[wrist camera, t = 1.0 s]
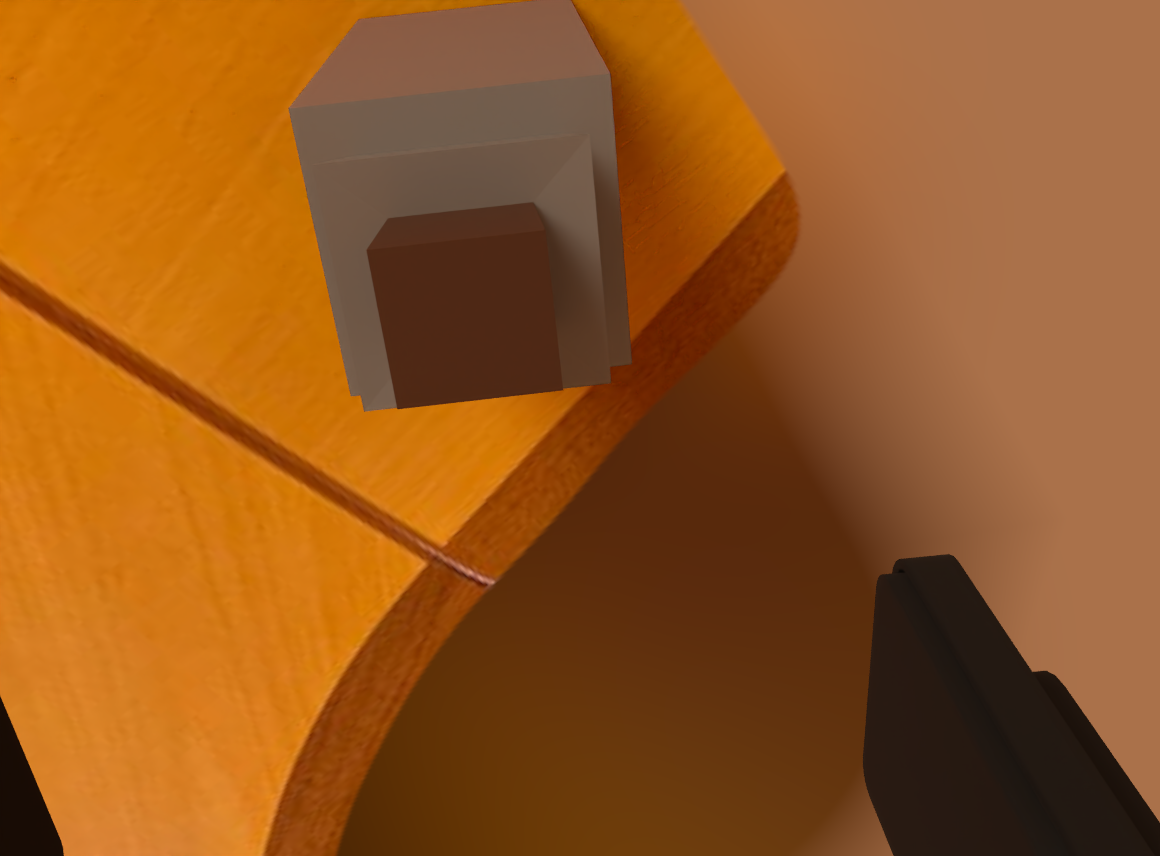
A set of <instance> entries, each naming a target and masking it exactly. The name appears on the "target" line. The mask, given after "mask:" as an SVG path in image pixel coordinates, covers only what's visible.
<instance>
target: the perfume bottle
mask: <svg viewBox="0 0 1160 856" xmlns="http://www.w3.org/2000/svg"><path fill="white" fill-rule="evenodd" d="M289 113H290V117H291V122H292V127H293V131H294V136H295V140H296V145H297V150H298V154H299V159H300V164H301V168H302V173H303V177H304V182H305V187H306V191H307V196H308V200H309V205H310V210H311V214H312V219H313V223H314V228H315V233H316V237H317V242H318V246H319V251H320V256H321V260H322V265H323V270H324V274H325V279H326V283H327V288H328V293H329V297H330V302H331V306H332V311H333V316H334V320H335V325H336V329H337V334H338V339H339V343H340V348H341V353H342V357H343V362H344V366H345V371H346V376H347V380H348V385H349V389H350V394H351V396H358V395H361V399H362V403H363V408H364V411H372V410H381V409H390V408H397V409H403V408H412V407H421V406H430V405H438V404H447V403H456V402H464V401H473V400H482V399H491V398H499V397H508V396H517V395H526V394H534V393H543V392H552V391H560V390H563V389H564V388H573V387H582V386H590V385H599V384H608V383H611V375H610V367H612V366H621V365H629V364H632V357H631V344H630V331H629V317H628V304H627V291H626V277H625V264H624V251H623V237H622V224H621V210H620V197H619V184H618V170H617V157H616V144H615V130H614V117H613V103H612V90H611V77H610V72H609V70H608V68H607V67H606V65H605V63H604V61H603V59H602V57H601V56H600V54H599V52H598V50H597V48H596V46H595V44H594V43H593V41H592V39H591V37H590V35H589V33H588V31H587V30H586V28H585V26H584V24H583V22H582V20H581V18H580V17H579V15H578V13H577V11H576V9H575V7H574V5H573V4H572V2H571V0H535V1H526V2H517V3H507V4H498V5H489V6H479V7H470V8H460V9H451V10H442V11H432V12H423V13H414V14H404V15H395V16H386V17H376V18H367V19H359V20H358V21H357V22H356V23H355V25H354V26H353V27H352V28H351V30H350V31H349V32H348V34H347V35H346V36H345V37H344V39H343V40H342V41H341V42H340V44H339V45H338V46H337V48H336V49H335V50H334V51H333V53H332V54H331V55H330V56H329V58H328V59H327V60H326V62H325V63H324V64H323V65H322V67H321V68H320V69H319V70H318V72H317V73H316V74H315V75H314V77H313V78H312V79H311V81H310V82H309V83H308V84H307V86H306V87H305V88H304V89H303V91H302V92H301V93H300V95H299V96H298V97H297V98H296V100H295V101H294V102H293V103H292V105H291V106H290V107H289Z"/></svg>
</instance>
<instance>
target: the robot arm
mask: <svg viewBox="0 0 1160 856" xmlns="http://www.w3.org/2000/svg"><path fill="white" fill-rule="evenodd" d="M863 769H864V776H865V782H866V786H867V790H868V793H869V796H870V799H871V801H872V803H873V806H874V808H875V811H876V813H877V816H878V818H879V821H880V823H881V825H882V828H883V830H884V833H885V836H886V838H887V841H888V843H889V845H890V848H891V850H892V853H893V855H894V856H1160V823H1159V821H1158V819H1157V818H1156V816H1155V815H1154V814H1153V812H1152V811H1151V809H1150V808H1149V806H1148V805H1147V804H1146V802H1145V801H1144V800H1143V798H1142V796H1141V795H1140V794H1139V792H1138V791H1137V789H1136V788H1135V786H1134V785H1133V784H1132V782H1131V781H1130V779H1129V778H1128V776H1127V775H1126V773H1125V772H1124V771H1123V769H1122V768H1121V766H1120V765H1119V763H1118V762H1117V761H1116V759H1115V758H1114V756H1113V755H1112V753H1111V752H1110V750H1109V749H1108V748H1107V746H1106V745H1105V743H1104V742H1103V740H1102V739H1101V738H1100V736H1099V735H1098V733H1097V732H1096V730H1095V729H1094V727H1093V726H1092V725H1091V723H1090V722H1089V720H1088V719H1087V717H1086V716H1085V715H1084V713H1083V712H1082V710H1081V709H1080V707H1079V706H1078V704H1077V703H1076V702H1075V700H1074V699H1073V698H1072V696H1071V694H1070V693H1069V692H1068V690H1067V689H1066V687H1065V686H1064V685H1063V684H1062V683H1061V682H1060V680H1059V679H1058V678H1057V677H1056V676H1055V675H1053V674H1051V673H1049V672H1048V671H1038V672H1032V671H1031V669H1030V668H1029V666H1028V665H1027V663H1026V662H1025V661H1024V659H1023V657H1022V656H1021V654H1020V653H1019V652H1018V650H1017V648H1016V647H1015V646H1014V644H1013V642H1012V641H1011V639H1010V638H1009V637H1008V635H1007V634H1006V632H1005V630H1004V629H1003V627H1002V626H1001V624H1000V623H999V621H998V620H997V619H996V617H995V616H994V614H993V613H992V611H991V610H990V608H989V607H988V605H987V604H986V602H985V601H984V599H983V598H982V596H981V595H980V593H979V592H978V590H977V589H976V587H975V586H974V584H973V583H972V581H971V580H970V578H969V577H968V575H967V574H966V572H965V571H964V569H963V568H962V566H961V565H960V563H959V562H958V561H957V559H956V558H955V557H954V556H952V555H949V554H948V555H937V556H927V557H916V558H906V559H899V560H897V561H896V562H895V565H894V567H893V572H892V574H883V575H880V576H879V578H878V581H877V586H876V597H875V611H874V623H873V637H872V650H871V662H870V676H869V688H868V702H867V714H866V727H865V739H864V753H863ZM0 856H64V853H63V846H62V843H61V840H60V837H59V835H58V833H57V830H56V828H55V825H54V823H53V821H52V818H51V816H50V814H49V811H48V809H47V806H46V804H45V802H44V799H43V797H42V795H41V792H40V790H39V787H38V785H37V783H36V780H35V778H34V775H33V773H32V771H31V768H30V766H29V764H28V761H27V759H26V756H25V754H24V752H23V749H22V747H21V744H20V742H19V740H18V737H17V735H16V733H15V730H14V728H13V725H12V723H11V721H10V718H9V716H8V714H7V711H6V709H5V706H4V704H3V702H2V699H1V697H0Z"/></svg>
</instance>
